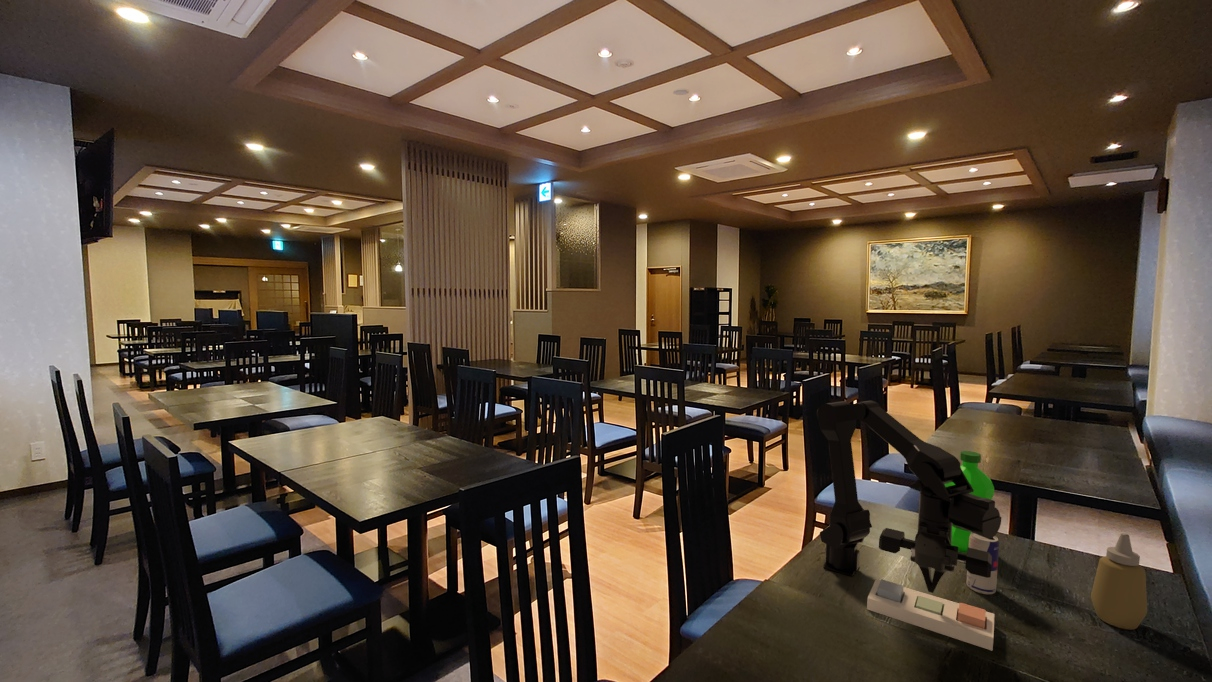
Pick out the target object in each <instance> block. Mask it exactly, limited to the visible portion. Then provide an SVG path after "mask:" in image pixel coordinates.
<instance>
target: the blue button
mask: <svg viewBox="0 0 1212 682" xmlns="http://www.w3.org/2000/svg"><path fill="white" fill-rule="evenodd" d="M880 580H881V581H880V584H879V586H878V590H877V596H880V597H883V598H886V599H890V600H893V601H896V602H899V603H901V600H902V597H903V589H904V587H905V586H904V585H902V584H899V583H896V582H892V581H889V580H885V579H880Z"/></svg>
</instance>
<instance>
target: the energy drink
mask: <svg viewBox="0 0 1212 682" xmlns="http://www.w3.org/2000/svg"><path fill="white" fill-rule="evenodd" d="M969 548H973V549H977V550H981V551H985V552H989V553H990V555H991V556H992V564H991V577H990V578H986V577H982V576H978V575H975V574H971V573H969V572H968V570H967V569H966V583H965V584H966V585H967V587H968V588H969V589H970V590H971V591H973V592H975V593H978V594H981V595H986V596H987V595H988V596H989V595H993V594H996V591H997V582H998V580H997V579H998V569H999V568H998V567H999V553H1000V541H999V538H998V537H997V535H995V536H994V537H993V538H990V539H988V538H985V537H983V536H980V535H978V534H975V533H972V532H971V535H970V537H969Z"/></svg>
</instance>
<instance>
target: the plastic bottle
mask: <svg viewBox="0 0 1212 682" xmlns="http://www.w3.org/2000/svg"><path fill="white" fill-rule="evenodd" d="M959 453H960V456H959V459H960V461H961V462H962V463H961V464H962V465H960V467H961V470H962V471H963V473H964V475H965V476H966V478H967V480H968V482H969V483H970V485H971V487H972V488H973V490H974V492H972V493H969V494H972V495H975V496H978V497H981V498H987V499H991V500H993V497H994V495H995V486H994V484H993V481H992V480H991V478H990V477H989V476H988V475H987V474H986V473H985V472H983V471H982V470H981V469H980V468H979V465H978V464H980V463H981V460H982V455H981V454H980V453H978V452H975V451H970V450H962V451H960V452H959ZM953 485H955V484H954V483H953V482H950V483H946V484H944V486H945V487H949V486H953ZM970 535H971V532H970V531H967V530H965V529H962V528H960V527H957V526H955V525H954V524H953V523H952V537H951V545H953V546H957V547H958V551H959V552H963V553H967V548H968V547H969V537H970Z"/></svg>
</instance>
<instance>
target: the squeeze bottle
mask: <svg viewBox="0 0 1212 682" xmlns="http://www.w3.org/2000/svg"><path fill="white" fill-rule="evenodd" d="M1131 542H1132V541H1131V538H1130V535H1129V534H1128V533H1124V532H1122V533H1120V534H1119V536H1118V539H1117V541H1116V543H1115V546H1108V547H1107V548H1106V555H1105V556H1101V557H1100V558H1099V560H1098V564H1097V569H1096V573H1095V575H1094V576H1095V577H1094V580H1093V581H1094V582H1093V586H1092V589H1091V593H1090V599H1091V602H1092V604H1093V608H1094V610H1095V613H1096V616H1097V618H1099V619H1100V620H1102V622H1104V623H1107V624H1108V625H1111V626H1112V627H1116V628H1118V629H1122V630H1131V631H1132V630H1136V629H1137V628H1138V627H1139V626H1140V624H1141V623H1142V622H1143V620H1144V619H1145V617H1146V616H1147V613H1148V602H1147V601H1148V599H1147V598H1148V597H1147V596H1148V595H1147V577H1146V574H1147V573H1146V570H1145V569H1144V568H1143V566H1141V565H1140V561H1141V557H1140V555H1139V554H1138V553H1136V552H1135V551H1133V547H1132V543H1131Z"/></svg>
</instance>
